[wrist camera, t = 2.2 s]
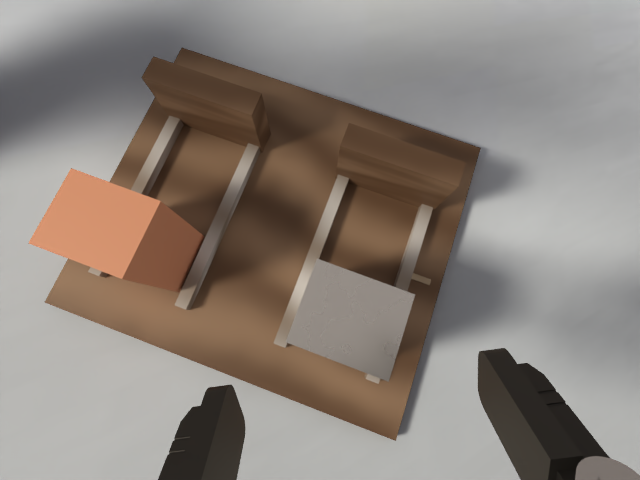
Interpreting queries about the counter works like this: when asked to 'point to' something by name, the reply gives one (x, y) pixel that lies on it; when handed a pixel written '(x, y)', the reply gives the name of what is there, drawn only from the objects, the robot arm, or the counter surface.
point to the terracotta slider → (118, 232)
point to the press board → (280, 228)
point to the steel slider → (351, 319)
